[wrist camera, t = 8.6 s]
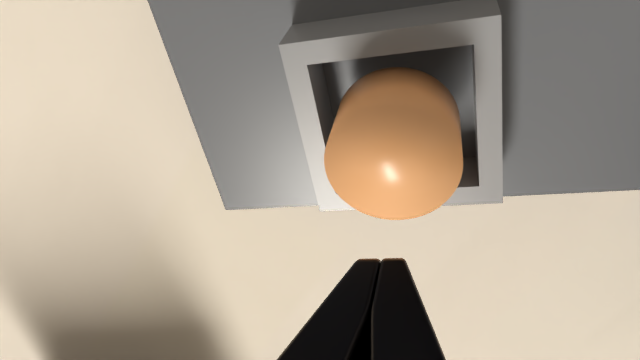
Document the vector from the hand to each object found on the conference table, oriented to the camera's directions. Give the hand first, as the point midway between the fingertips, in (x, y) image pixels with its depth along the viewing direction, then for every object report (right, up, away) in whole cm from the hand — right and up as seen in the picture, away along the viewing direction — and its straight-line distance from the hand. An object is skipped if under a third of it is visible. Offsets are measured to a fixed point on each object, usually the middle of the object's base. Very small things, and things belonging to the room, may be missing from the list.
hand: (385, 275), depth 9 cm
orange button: (+1, +3, +4) cm, 6 cm away
